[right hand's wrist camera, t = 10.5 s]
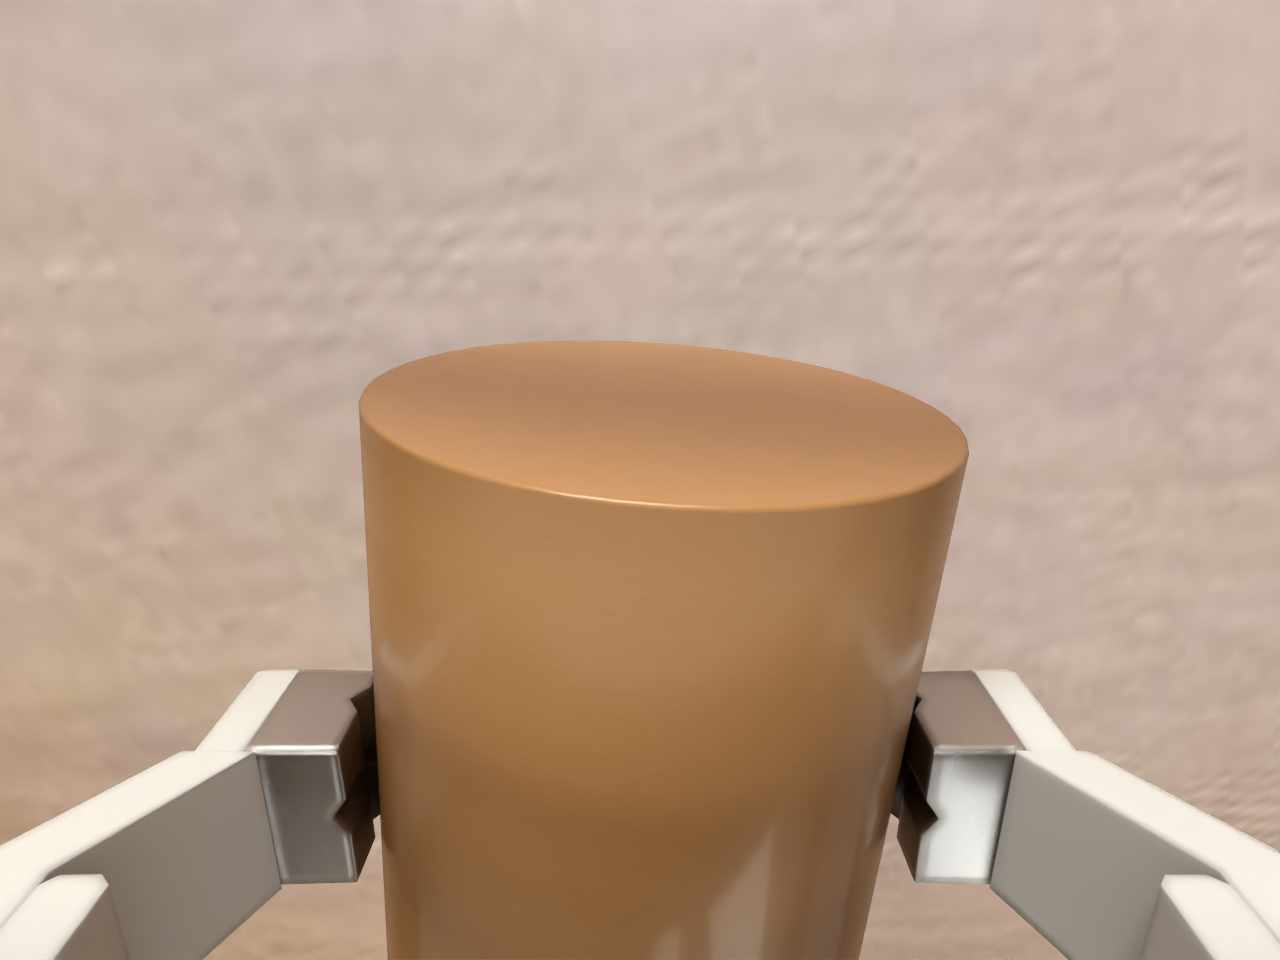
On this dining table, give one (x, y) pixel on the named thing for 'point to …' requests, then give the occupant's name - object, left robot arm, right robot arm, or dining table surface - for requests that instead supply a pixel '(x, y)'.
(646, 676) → the rod
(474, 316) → the dining table surface
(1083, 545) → the dining table surface
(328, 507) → the dining table surface
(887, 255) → the dining table surface
